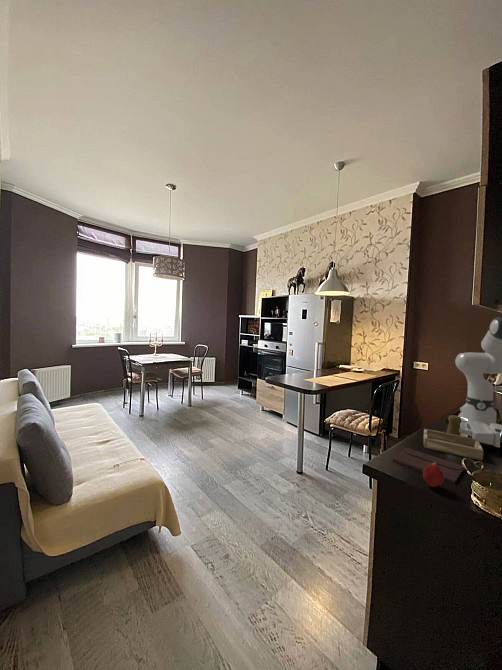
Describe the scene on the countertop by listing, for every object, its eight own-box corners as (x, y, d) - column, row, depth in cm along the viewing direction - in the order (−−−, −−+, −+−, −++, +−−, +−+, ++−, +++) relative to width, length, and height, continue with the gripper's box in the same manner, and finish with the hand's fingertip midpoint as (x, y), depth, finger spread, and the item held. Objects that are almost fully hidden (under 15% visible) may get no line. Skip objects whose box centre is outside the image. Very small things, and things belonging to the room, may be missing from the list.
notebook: (454, 485, 98) (454, 479, 97) (392, 462, 112) (392, 457, 112) (463, 470, 108) (464, 465, 108) (406, 451, 122) (406, 447, 122)
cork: (458, 442, 133) (460, 418, 132) (443, 438, 138) (445, 415, 137) (463, 439, 136) (465, 416, 136) (448, 435, 141) (450, 413, 141)
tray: (423, 437, 138) (424, 428, 138) (476, 447, 128) (477, 439, 128) (423, 447, 126) (424, 438, 126) (482, 460, 116) (483, 450, 116)
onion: (426, 490, 93) (428, 465, 92) (419, 480, 99) (420, 457, 98) (446, 492, 92) (448, 468, 92) (437, 482, 98) (439, 459, 97)
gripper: (491, 420, 138) (455, 414, 145) (501, 434, 120) (460, 426, 127) (490, 433, 138) (454, 427, 145) (500, 449, 121) (459, 441, 128)
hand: (457, 427), depth 136 cm, fingers open, 8 cm apart
